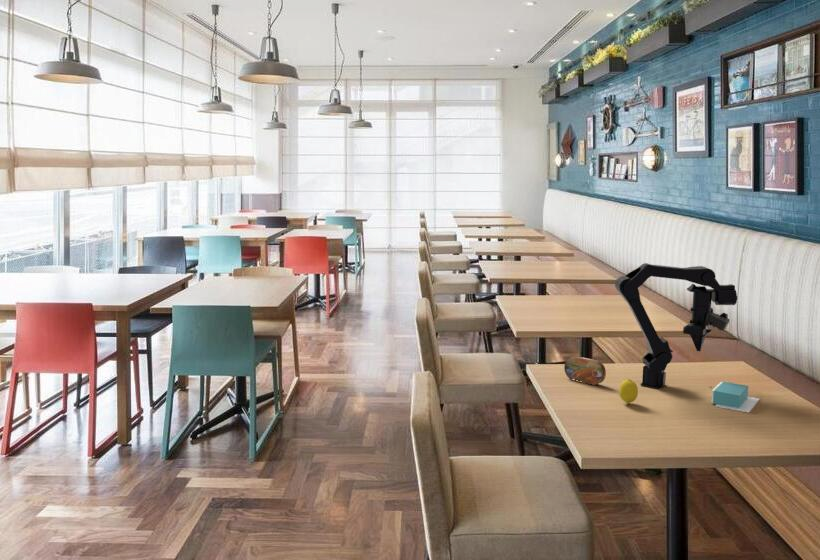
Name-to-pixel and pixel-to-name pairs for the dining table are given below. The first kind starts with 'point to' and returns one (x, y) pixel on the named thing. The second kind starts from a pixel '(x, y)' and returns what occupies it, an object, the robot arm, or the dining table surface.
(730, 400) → the teal block
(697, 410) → the dining table surface
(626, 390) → the lemon
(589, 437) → the dining table surface
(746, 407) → the mat
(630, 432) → the dining table surface
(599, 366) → the tin
